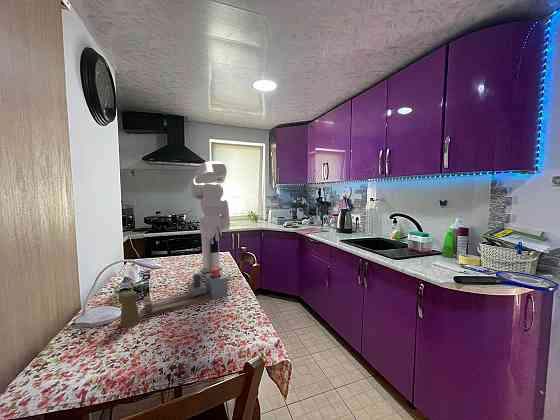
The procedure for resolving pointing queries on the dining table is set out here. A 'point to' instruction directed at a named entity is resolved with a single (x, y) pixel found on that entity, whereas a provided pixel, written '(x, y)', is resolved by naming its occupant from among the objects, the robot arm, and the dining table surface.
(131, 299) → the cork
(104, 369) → the dining table surface
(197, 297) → the board
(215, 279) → the end cabinet
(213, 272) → the button
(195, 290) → the carriage
